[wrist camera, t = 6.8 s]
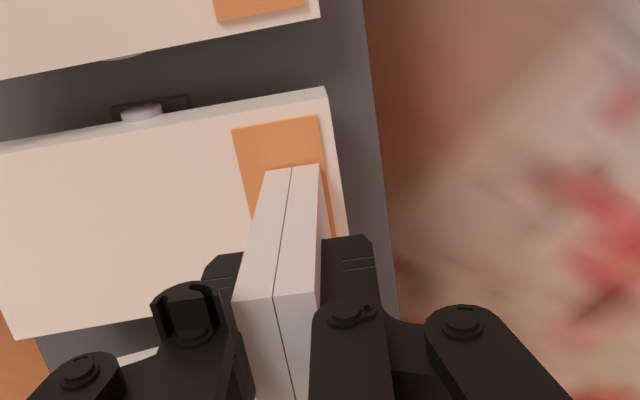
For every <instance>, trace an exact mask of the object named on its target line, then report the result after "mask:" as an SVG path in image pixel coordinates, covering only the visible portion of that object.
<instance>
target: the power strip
mask: <svg viewBox="0 0 640 400" xmlns="http://www.w3.org/2000/svg"><path fill="white" fill-rule="evenodd" d="M318 2H319V9H320V15H321V17H320V18H315V19H310V20H305V21H300V22H295V23H290V24H285V25H279V26H274V27H269V28H264V29H259V30H254V31H249V32H244V33H239V34H234V35H228V36H223V37H218V38H213V39H208V40H203V41H198V42H193V43H188V44H183V45H178V46H172V47H167V48H162V49H157V50H152V51H147V52H145V53H143V54H141V55H137V56H134V57H130V58H126V59H120V60H114V61H104V60H101V61H96V62H91V63H86V64H81V65H76V66H71V67H65V68H60V69H55V70H50V71H45V72H40V73H35V74H30V75H25V76H20V77H15V78H9V79H4V80H0V142H5V141H11V140H17V139H23V138H28V137H34V136H40V135H45V134H51V133H57V132H62V131H68V130H74V129H80V128H85V127H91V126H97V125H102V124H108V123H114V122H120V121H122V118H121V115H120V114H121V112H123V111H124V110H127V109H129V108H132V107H135V106H139V105H144V104H151V103H158V104H161V107H162V111H163V114H165V113H171V112H177V111H182V110H188V109H194V108H199V107H205V106H211V105H217V104H222V103H228V102H234V101H239V100H245V99H251V98H256V97H262V96H268V95H274V94H279V93H285V92H291V91H296V90H302V89H308V88H314V87H319V86H324V88H325V90H326V93H327V96H328V100H329V107H330V113H331V120H332V126H333V133H334V139H335V146H336V152H337V159H338V165H339V172H340V178H341V184H342V191H343V197H344V204H345V210H346V217H347V223H348V230H349V236H350V235H357V234H363V235H364V236H365V237H366V238H367V239H368V240H369V241H371V242H372V245H373V252H374V258H375V265H376V272H377V278H378V285H379V292H380V299H381V304H382V307H383V309H384V310H385V311H386V312H387V313H388V314H389V315H390V316H392V317H393V318H395V319H397V320H400V321H401V319H400V310H399V302H398V294H397V285H396V277H395V269H394V261H393V252H392V244H391V236H390V227H389V219H388V211H387V202H386V194H385V186H384V178H383V169H382V161H381V153H380V144H379V136H378V128H377V119H376V111H375V103H374V94H373V86H372V78H371V70H370V61H369V53H368V45H367V36H366V28H365V20H364V11H363V3H362V0H318ZM34 338H35V341H36V343H37V345H38V347H39V349H40V352H41V354H42V356H43V358H44V360H45V363H46V365H47V367H48V369H49V371H50V374H51V373H52V372H53V371H54V370H55V369H57V368H58V367H59V366H60V365H61V364H63V363H65V362H67V361H69V360H70V359H72V358H74V357H76V356H79V355H82V354H86V353H89V352H99V351H103V352H107V353H111V354H112V355H113V356H114V357H115V358H118V357H122V356H126V355H129V354H133V353H137V352H140V351H144V350H148V349H151V348H155V347H158V346H159V345H160V343H161V338H160V335H159V332H158V329H157V326H156V324H155V321H154V318H153V316H151V317H146V318H140V319H134V320H129V321H123V322H118V323H112V324H106V325H101V326H95V327H89V328H84V329H78V330H72V331H67V332H61V333H56V334H50V335H44V336H39V337H34Z"/></svg>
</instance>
